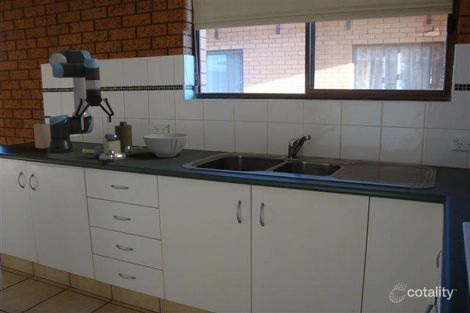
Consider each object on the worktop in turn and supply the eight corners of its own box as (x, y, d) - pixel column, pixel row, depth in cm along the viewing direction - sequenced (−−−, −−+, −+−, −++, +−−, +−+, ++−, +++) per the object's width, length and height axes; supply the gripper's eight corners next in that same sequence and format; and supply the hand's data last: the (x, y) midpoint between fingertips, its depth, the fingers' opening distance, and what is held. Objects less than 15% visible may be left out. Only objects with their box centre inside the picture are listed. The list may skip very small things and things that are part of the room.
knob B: (101, 156, 252) (100, 146, 251) (98, 157, 249) (97, 147, 248) (84, 156, 255) (83, 146, 254) (81, 156, 252) (80, 146, 251)
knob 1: (108, 160, 239) (108, 149, 238) (114, 160, 240) (114, 149, 239) (107, 164, 228) (107, 153, 227) (113, 163, 229) (113, 152, 228)
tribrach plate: (94, 158, 248) (92, 134, 246) (118, 155, 258) (116, 132, 256) (106, 161, 237) (105, 136, 235) (130, 158, 247) (129, 134, 245)
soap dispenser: (35, 147, 294) (32, 115, 290) (46, 146, 301) (43, 115, 298) (47, 148, 288) (44, 116, 284) (58, 147, 295) (55, 115, 291)
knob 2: (126, 156, 252) (126, 146, 251) (124, 155, 255) (123, 145, 254) (144, 153, 260) (143, 144, 259) (141, 153, 263) (140, 143, 262)
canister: (128, 155, 258) (127, 122, 254) (112, 154, 260) (111, 122, 256) (136, 152, 268) (134, 120, 265) (121, 152, 270) (119, 120, 267)
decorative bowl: (187, 158, 243) (187, 137, 241) (140, 159, 242) (139, 138, 240) (190, 151, 269) (189, 132, 267) (147, 152, 268) (146, 133, 266)
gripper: (67, 89, 217) (70, 130, 220) (117, 88, 223) (119, 129, 226) (69, 89, 224) (72, 129, 228) (117, 88, 230) (119, 127, 233)
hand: (95, 129), depth 227 cm, fingers open, 12 cm apart
